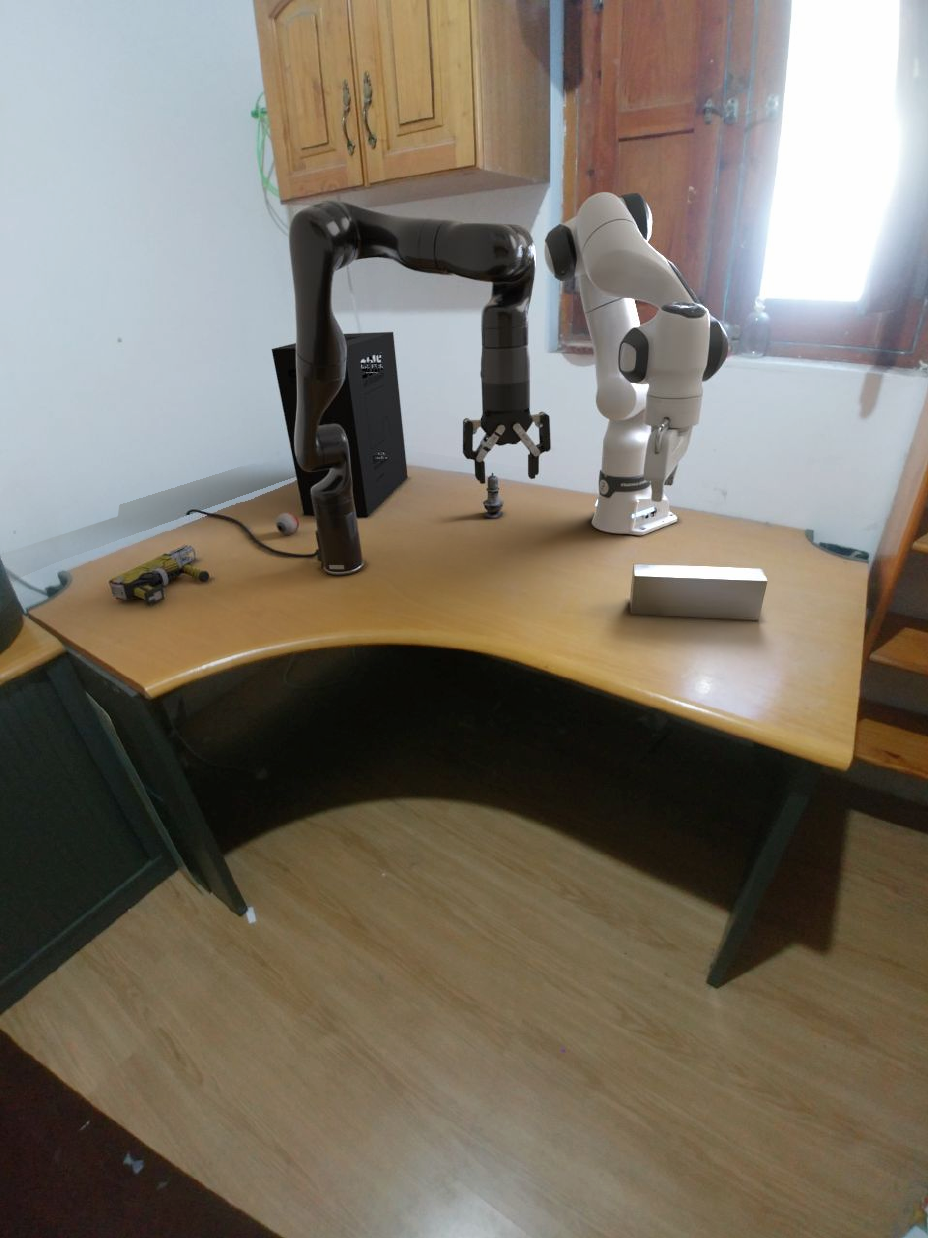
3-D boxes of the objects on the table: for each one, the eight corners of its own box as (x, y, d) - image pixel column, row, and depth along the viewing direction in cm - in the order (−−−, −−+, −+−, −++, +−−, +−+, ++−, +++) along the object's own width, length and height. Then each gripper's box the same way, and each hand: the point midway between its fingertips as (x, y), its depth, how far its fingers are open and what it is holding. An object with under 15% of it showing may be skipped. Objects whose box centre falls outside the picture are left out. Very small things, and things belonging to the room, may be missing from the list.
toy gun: (232, 553, 147) (182, 542, 151) (158, 593, 127) (102, 580, 131) (234, 570, 150) (185, 559, 154) (162, 613, 130) (107, 599, 134)
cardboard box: (367, 516, 174) (344, 346, 151) (303, 514, 178) (271, 348, 156) (407, 477, 205) (393, 331, 183) (352, 476, 210) (331, 334, 187)
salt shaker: (502, 518, 167) (501, 475, 161) (481, 517, 168) (480, 475, 162) (505, 511, 172) (504, 469, 166) (485, 510, 173) (483, 469, 167)
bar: (630, 614, 119) (634, 575, 114) (629, 601, 123) (633, 564, 119) (758, 620, 114) (767, 580, 110) (753, 607, 118) (761, 568, 114)
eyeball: (273, 537, 164) (268, 516, 161) (287, 528, 169) (282, 508, 166) (291, 539, 161) (286, 518, 158) (305, 530, 166) (301, 510, 163)
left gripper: (464, 384, 89) (469, 491, 97) (557, 377, 91) (554, 482, 99) (456, 377, 96) (461, 478, 104) (543, 370, 97) (541, 469, 105)
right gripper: (679, 426, 92) (669, 513, 99) (701, 401, 107) (691, 477, 114) (638, 424, 94) (630, 508, 101) (665, 399, 110) (657, 474, 117)
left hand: (507, 480), depth 101 cm, fingers open, 8 cm apart
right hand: (662, 492), depth 108 cm, fingers open, 8 cm apart
